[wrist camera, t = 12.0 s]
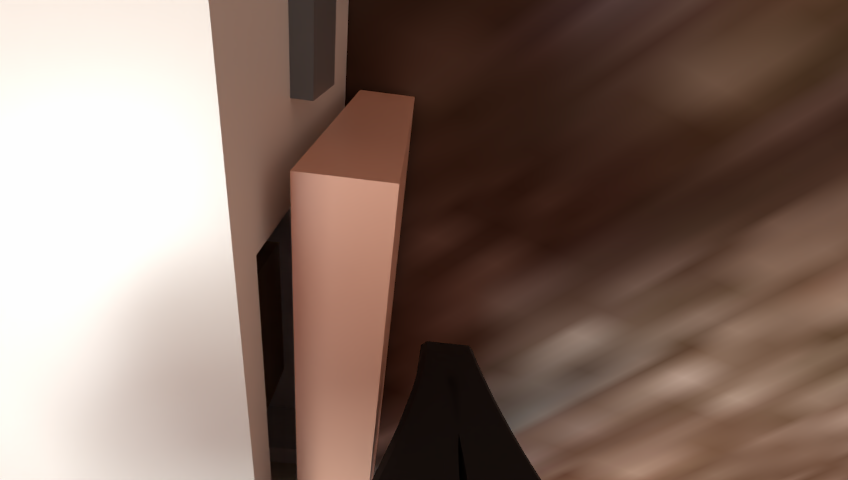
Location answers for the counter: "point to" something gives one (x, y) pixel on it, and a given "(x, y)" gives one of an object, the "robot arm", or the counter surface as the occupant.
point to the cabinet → (148, 226)
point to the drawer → (340, 289)
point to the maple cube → (270, 315)
